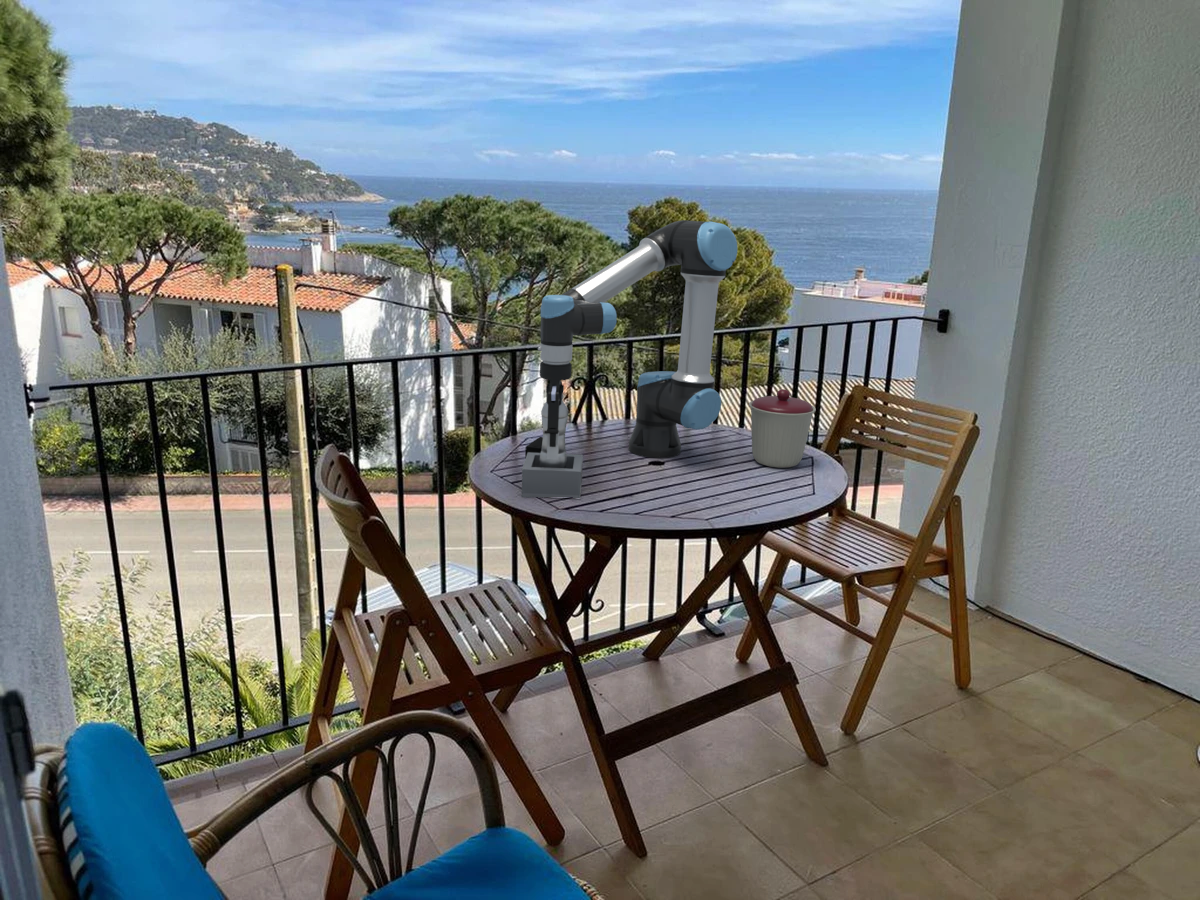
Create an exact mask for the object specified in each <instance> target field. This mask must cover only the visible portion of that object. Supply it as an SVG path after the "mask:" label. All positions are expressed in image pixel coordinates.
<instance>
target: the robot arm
mask: <svg viewBox="0 0 1200 900" xmlns="http://www.w3.org/2000/svg"><path fill="white" fill-rule="evenodd" d="M737 255H738V242H737V238H736V236H735V234H734V232H733V230H732V229H731V228H730V227H729V226H727V225H726V224H724V223H719V222H714V221H698V220H687V219H686V220H685V219H684V220H678V221H674V222H671V223H669V224H666V225H665V226H662V227H660V228H659V229H657V230H655V231H653V232H651V233H650V234H649V235H647V236H645V237H644V238H642V239H641V240H640V241H639V244H638V246H636V247H635V248H634V249H632V250H631V251H629V252H628V253H625V254H624V255H622V256H620V257H619V258H618V259H617V260H615V261H613V262H611V263H610V264H608V265H607V266H605V267H603V268H602V269H600V270H599V271H598V272H595V273H594V274H592V275H591V276H590V277H587V278H586V279H584V280H583V281H582V282H580V283H578V284H577V285H575V286H573V287H572V288H570V289H568V290H567V291H565V292H564V293H562V294H548V295H545V296H544V297H543V298H542V300H541V305H540V315H539V316H540V346H538V347H537V350H538V352H540V353H539V355H540V358H539V359H540V360H541V361H540V363H539V377H540V378H541V379H543V380H549V383H547V386H546V389H545V390H546V402H547V404H548V425H547V431H545V433H547V459H558V447H559V433H558V432H559V430H558V424H559V406H560V405H561V403H562V401H563V399H562V394H563V395H564V389H565V387H564V384H563V382H562V381H567V380H569V379H571V378H572V365H573V364H572V363H571V361H572V360H573V337H574V336H575V337H576V336H585V335H587V336H588V335H589V336H590V335H604V334H609V333H611V332H612V331H614V330H615V327H616V324H617V320H618V319H617V317H618V316H617V311H616V309H615V307H614V306H613V305H612V304H611V303H610V302H608V301H609V300H610V299H612V298H614V297H616V296H617V295H618V294H620V293H621V292H623V291H625V290H626V289H627V288H629V287H630V286H632V285H634V284H635V283H637V282H638V281H640V280H642V279H643V278H645V277H646V276H648V275H649V274H650V273H652V272H661V271H663V270H664V269H666V268H668V267H672V266H678V265H679V266H681V268H680V275H681V276H682V277H683V279H684V280H685V285H684V286H685V287H684V297H683V309H682V320H681V328H680V329H681V330H680V339H679V340H680V341H679V342H680V343H679V352H678V362H677V363H678V365H677V370H676V371H672V370H671V371H669V370H666V371H665V370H664V371H659V370H657V371H648V372H643V373H641V374H640V375H639V376H638V383H637V387H636V388H637V389H636V390H637V392H636V393H637V394H636V418H635V420H636V421H635V426H634V428H633V430H632V432H631V435H630V439H629V440H628V451H629V452H630V453H632V454H634V455H637V456H641V457H646V458H658V459H659V458H660V459H661V458H671V457H676V456H678V455H679V454H681V453H682V441H681V437H680V434H679V431H678V427H677V426H678V425H680V426H683V428H684V427H685V428H687V429H693V430H696V431H697V430H698V431H700V430H704V429H707V428H708V427H710V426H711V425H712V424H713V422H715V420H716V419H717V418H718V416H719V415H720V411H721V408H722V398H721V396H720V395H719V394H720V393H719V392H717V391H716V390H715V378H714V377H713V375H711V363H712V361H711V360H712V353H713V351H712V350H713V344H714V332H715V324H716V323H715V322H716V312H717V303H718V302H717V301H718V294H719V293H718V292H719V283H720V282H721V281H723V279H725V278H726V272H727V270H728V269H730V268H731V267H732V266H733V263H734V262H735V261H736V259H737ZM559 393H560V396H559Z"/></svg>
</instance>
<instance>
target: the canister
mask: <svg viewBox="0 0 1200 900" xmlns="http://www.w3.org/2000/svg"><path fill="white" fill-rule="evenodd" d="M748 406H749V408H750V410H751V411H750V413H751V414H750V420H751V424H750V425H751V427H750V428H751V448H752V449H751V452H752V456H753V459H754V460H755V461H756V462H757V463H758V464H760V465H763V466H766V467H770V468H777V469H778V468H779V469H784V468H785V469H786V468H793V467H795V466H797V465H799V464H800V462H801V460H802V458H803V456H804V452H805V448H806V446H807V445H806V444H807V440H808V438H809V437H808V436H809V432H810V427H811V423H812V419H813V414H814V413H815V412H816V411H817V410H816V407H815V406H813V405H812V404H811V403H810V402H809V401H806V400H804V399H801V398H796V397H791V393H790V391H789V390H787V389H785V388H784V389H782V388H781V389H779V390H778V391H777V393H776V395H764V396H760V397H757V398H755V399H753V400H751V401H749V403H748Z"/></svg>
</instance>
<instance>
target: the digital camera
mask: <svg viewBox="0 0 1200 900" xmlns="http://www.w3.org/2000/svg"><path fill="white" fill-rule="evenodd" d="M542 441H543V436H539V437H537V438H535V440H533V441H531V442H530V443H529V444H528V445H526V446H525V455H524V457H525V458H524V459H526V456H527V453H528V452H531V453H541V451H542Z"/></svg>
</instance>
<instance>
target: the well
mask: <svg viewBox="0 0 1200 900" xmlns="http://www.w3.org/2000/svg"><path fill="white" fill-rule="evenodd" d="M540 454H541V453H531V452H528V453H527V456H526V459H525V458H524V459H525V460H524V462H523V465H522V469H521V498H533V497H535V498H536V497H538V498H540V497H543V498H542V499H545V498H544V497H573V498H580V499H581V494H580V493H581V492H582V485H581V484H583V466H584V465H583V460H584V458H583V457H584V455H583V454H580V453H579V454H576V453H575V454H574V453H573V454H572V453H566V456H567V462H566V466H565V467H564V468H542V467H541V465H540V460H539V459H540ZM540 499H541V498H540Z"/></svg>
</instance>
